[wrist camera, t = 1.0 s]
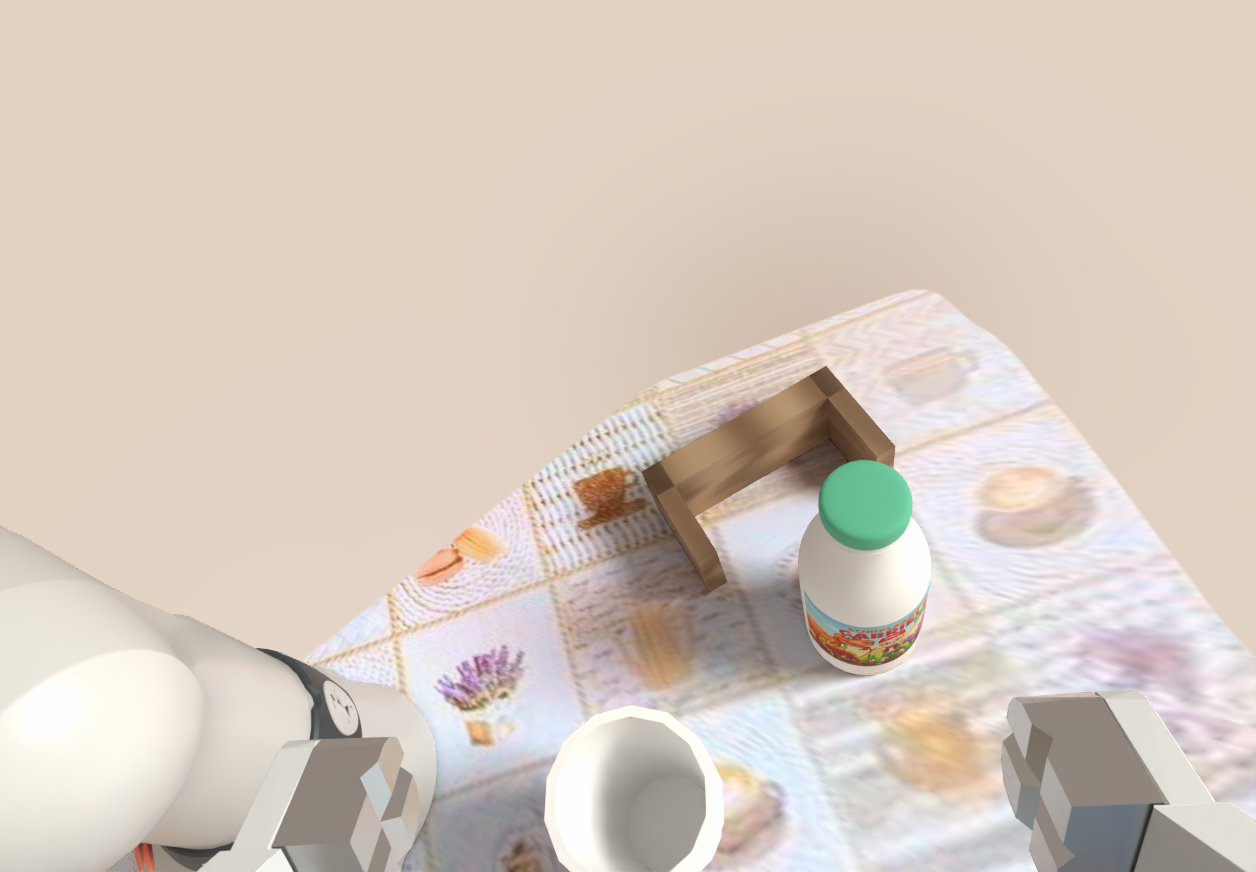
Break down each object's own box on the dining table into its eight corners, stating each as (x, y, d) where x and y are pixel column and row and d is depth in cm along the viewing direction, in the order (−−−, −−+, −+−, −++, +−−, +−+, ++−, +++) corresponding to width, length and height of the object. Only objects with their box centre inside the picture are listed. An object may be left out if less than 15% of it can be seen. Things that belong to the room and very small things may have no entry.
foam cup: (583, 790, 57) (520, 755, 46) (702, 724, 58) (667, 675, 47) (642, 936, 52) (586, 936, 41) (772, 863, 53) (751, 844, 42)
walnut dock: (709, 591, 62) (697, 561, 57) (657, 506, 67) (641, 471, 62) (891, 485, 63) (895, 446, 58) (828, 408, 68) (826, 366, 63)
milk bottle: (783, 613, 60) (756, 488, 44) (866, 550, 61) (871, 405, 45) (856, 701, 56) (857, 600, 40) (944, 632, 57) (982, 505, 40)
